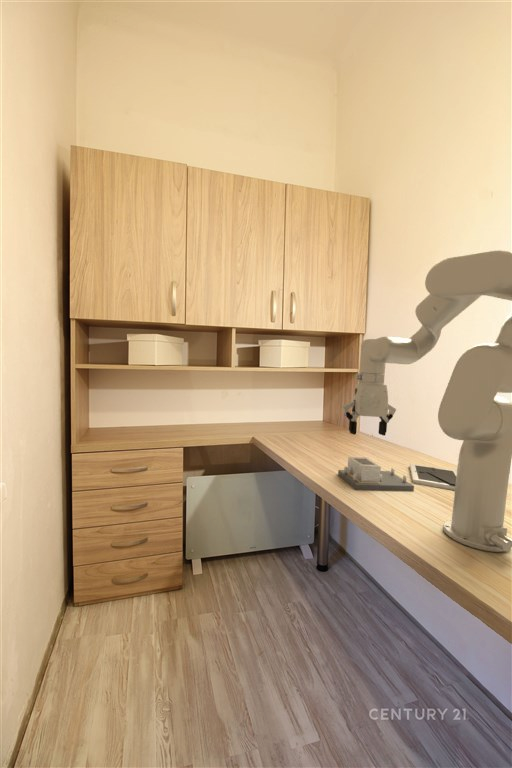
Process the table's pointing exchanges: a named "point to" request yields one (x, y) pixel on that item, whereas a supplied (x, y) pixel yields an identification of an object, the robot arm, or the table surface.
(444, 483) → the picture frame
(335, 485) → the table surface
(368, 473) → the block
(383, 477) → the tray
